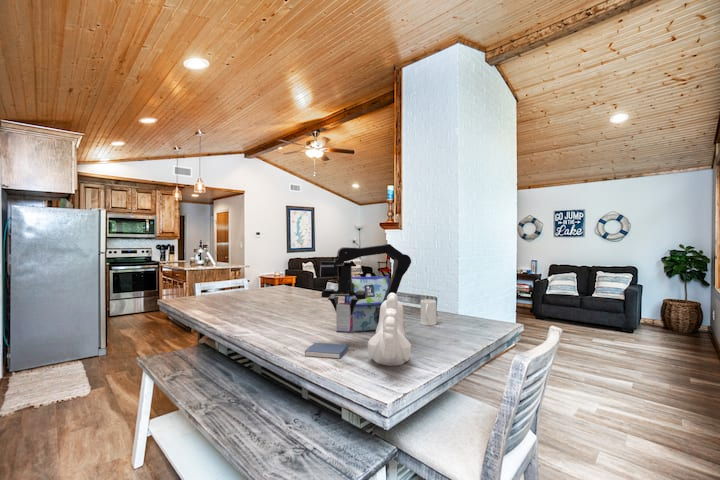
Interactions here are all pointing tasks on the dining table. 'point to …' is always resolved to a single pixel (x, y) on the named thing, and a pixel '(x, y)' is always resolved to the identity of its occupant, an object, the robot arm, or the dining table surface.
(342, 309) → the supplement box
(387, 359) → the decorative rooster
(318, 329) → the dining table surface
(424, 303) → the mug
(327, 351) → the notebook
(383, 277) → the lunch bag
